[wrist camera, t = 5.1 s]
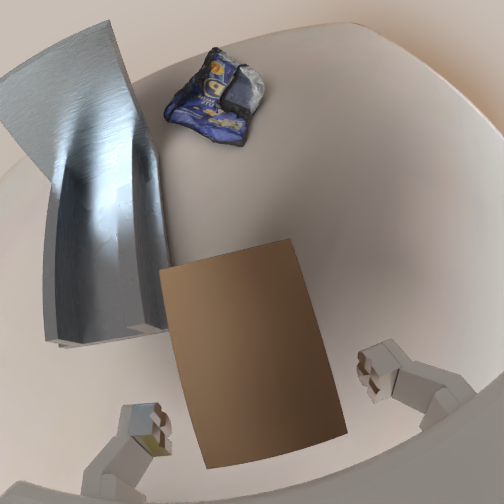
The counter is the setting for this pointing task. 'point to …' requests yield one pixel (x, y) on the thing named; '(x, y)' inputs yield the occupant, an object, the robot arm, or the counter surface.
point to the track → (92, 190)
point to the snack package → (218, 99)
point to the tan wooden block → (250, 355)
